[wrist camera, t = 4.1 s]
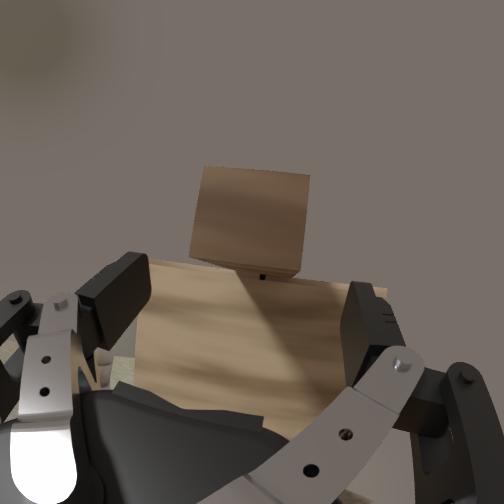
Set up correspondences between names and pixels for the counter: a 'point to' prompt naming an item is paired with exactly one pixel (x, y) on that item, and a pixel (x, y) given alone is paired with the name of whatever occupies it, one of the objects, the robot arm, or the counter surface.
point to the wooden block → (242, 343)
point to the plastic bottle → (104, 367)
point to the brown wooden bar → (251, 220)
